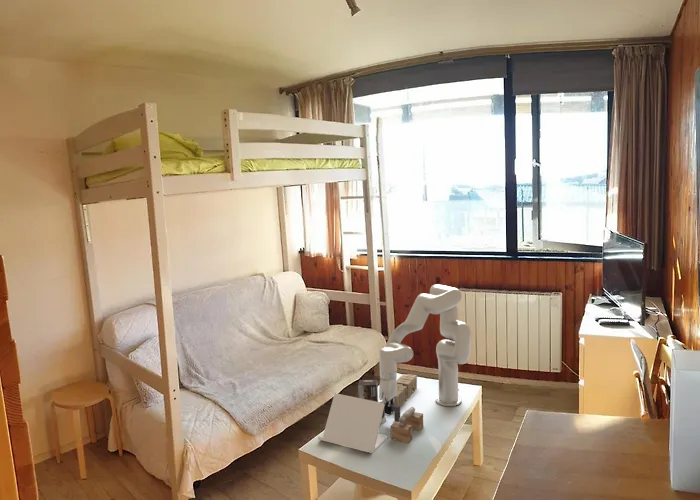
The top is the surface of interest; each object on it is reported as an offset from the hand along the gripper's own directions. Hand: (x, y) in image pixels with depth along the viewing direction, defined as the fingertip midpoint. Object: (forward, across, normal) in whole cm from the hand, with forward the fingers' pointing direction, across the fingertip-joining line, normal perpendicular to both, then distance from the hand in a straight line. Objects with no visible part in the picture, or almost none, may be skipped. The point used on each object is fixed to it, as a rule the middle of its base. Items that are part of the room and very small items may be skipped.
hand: (389, 412), depth 241 cm
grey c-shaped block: (+5, 0, 0) cm, 5 cm away
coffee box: (+5, -4, -13) cm, 15 cm away
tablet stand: (+6, +21, -7) cm, 23 cm away
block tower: (+6, -28, -7) cm, 29 cm away
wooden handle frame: (+5, +4, +11) cm, 13 cm away
